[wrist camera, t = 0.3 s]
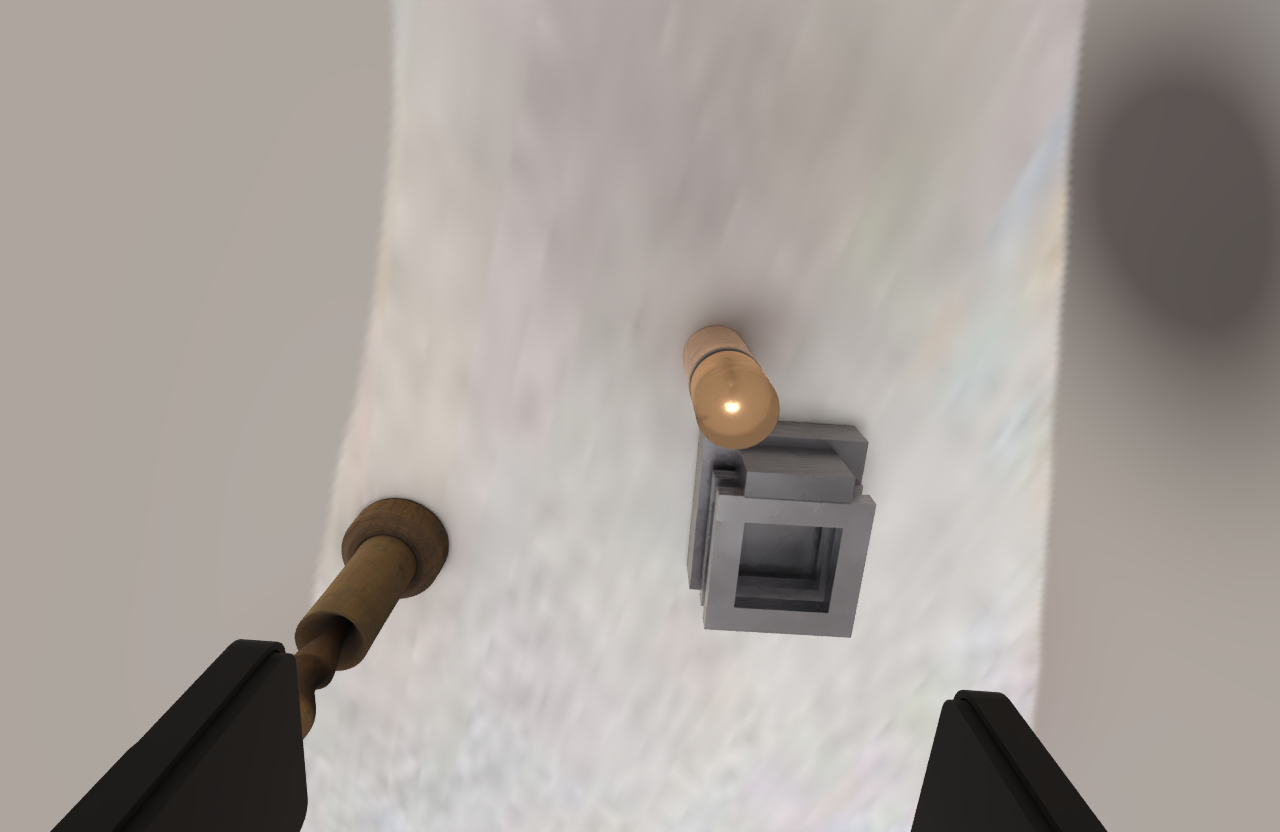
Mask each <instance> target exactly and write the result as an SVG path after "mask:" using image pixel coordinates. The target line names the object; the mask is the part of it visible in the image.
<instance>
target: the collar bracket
mask: <svg viewBox="0 0 1280 832" xmlns="http://www.w3.org/2000/svg"><path fill="white" fill-rule="evenodd" d="M867 448H868V441H867V440H866V439H865V438H864V437H863V435H862V434H861V433H860V432H859V431H858V430H857V429H856V428H855V427H854V426H845V425H829V424H813V423H797V422H780V421H777V423H776V425H775V427H774V429H773V430H772V432H771V433H770V434H769V435H768V436H767V437H766V438H765V439H764V440H763V441H761V442H760V443H758V444H756V445H754V446H751V447H749V448H745V449H727V448H723V447H720V446H718V445H716V444H714V443H712V442H711V441H710V440H709V439H707V438H706V437H705V435H704V434H703V433H702V431H701V430H700V435H699V445H698V455H697V466H696V476H695V486H694V497H693V507H692V518H691V528H690V538H689V549H688V559H687V570H688V579H689V588H690V589H698V590H700V600H701V606H704V610H703V622H704V629H710V630H728V631H745V632H762V633H780V634H797V635H814V636H832V637H849V638H851V634H852V629H853V624H854V619H855V613H856V608H857V603H858V598H859V592H860V587H861V582H862V577H863V571H864V566H865V561H866V555H867V550H868V545H869V540H870V534H871V529H872V524H873V519H874V513H875V508H876V503H875V502H874V501H873V499H872V498H871V497H870V495H862V490H863V486H862V485H861V481H862V475H863V470H864V464H865V459H866V453H867Z"/></svg>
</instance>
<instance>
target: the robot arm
mask: <svg viewBox="0 0 1280 832" xmlns="http://www.w3.org/2000/svg"><path fill="white" fill-rule="evenodd" d="M307 805H308V796H307V785H306V773H305V761H304V749H303V737H302V725H301V713H300V701H299V689H298V677H297V665H296V659H295V657H294V655H293V654H289V653H286V652H285V648H284V646H283V644H282V643H279V642H272V641H259V640H243V639H239V640H236V641H234V642H233V643H232V644H230V646H228V647H227V648H226V650H225V651H224V652H223V653H222V654H221V655H220V656H219V657H218V658H217V659H216V660H215V661H214V662H213V663H212V664H211V665H210V666H209V667H208V668H207V670H206V671H205V672H204V673H203V674H202V675H201V676H200V677H199V678H198V679H197V680H196V681H195V682H194V683H193V684H192V686H190V687H189V688H188V690H187V691H186V692H185V693H184V694H183V695H182V696H181V697H180V698H179V699H178V700H177V701H176V702H175V703H174V704H173V705H172V706H171V707H170V709H169V710H168V711H167V712H166V713H165V714H164V715H163V716H162V717H161V718H160V719H159V720H158V721H157V722H156V723H155V724H154V725H153V727H151V729H150V730H149V731H148V732H147V733H146V734H145V735H144V736H143V737H142V738H141V739H140V740H139V741H138V742H137V743H136V744H135V745H134V746H132V747H131V748H130V749H129V750H128V751H127V752H126V753H125V754H124V755H123V756H122V757H121V758H120V759H119V760H118V761H117V762H116V763H115V764H114V765H113V766H112V767H111V769H110V770H109V771H108V772H107V773H106V774H105V775H104V776H103V777H102V778H101V779H100V780H99V781H98V782H97V783H96V784H95V785H94V786H93V787H92V789H91V790H90V791H89V792H88V793H87V794H86V795H85V796H84V797H83V798H82V799H81V800H80V801H79V802H78V803H77V804H76V805H75V806H74V807H73V808H72V809H71V811H70V812H69V813H68V814H67V815H66V816H65V817H64V818H63V819H62V820H61V821H60V822H59V823H58V824H57V825H56V826H55V827H54V828H53V829H52V830H51V832H300V830H301V828H302V825H303V822H304V820H305V816H306V812H307ZM911 832H1107V830H1106V829H1105V828H1104V826H1103V825H1102V824H1101V822H1100V821H1099V820H1098V819H1097V817H1096V816H1095V814H1094V813H1093V812H1092V810H1091V809H1090V808H1089V806H1088V805H1087V804H1086V802H1085V801H1084V799H1083V798H1082V797H1081V795H1080V794H1079V793H1078V792H1077V790H1076V789H1075V788H1074V786H1073V785H1072V783H1071V782H1070V781H1069V779H1068V778H1067V777H1066V775H1065V774H1064V773H1063V771H1062V770H1061V769H1060V767H1059V766H1058V765H1057V763H1056V762H1055V761H1054V759H1053V758H1052V756H1051V755H1050V754H1049V752H1048V751H1047V750H1046V748H1045V747H1044V746H1043V744H1042V743H1041V742H1040V740H1039V739H1038V738H1037V736H1036V735H1035V733H1034V732H1033V731H1032V729H1031V728H1030V727H1029V725H1028V724H1027V723H1026V721H1025V720H1024V719H1023V717H1022V716H1021V715H1020V713H1019V712H1018V711H1017V709H1016V708H1015V707H1014V705H1013V704H1012V702H1011V701H1010V700H1009V699H1008V698H1007V697H1006V696H1005V695H1004V694H1002V693H999V692H986V691H971V690H961V691H958V692H957V693H956V695H955V697H954V699H953V700H946V701H945V702H944V704H943V707H942V710H941V714H940V718H939V722H938V726H937V730H936V734H935V738H934V742H933V746H932V750H931V754H930V758H929V761H928V765H927V769H926V773H925V777H924V781H923V785H922V789H921V793H920V797H919V801H918V805H917V809H916V813H915V817H914V821H913V825H912V829H911Z"/></svg>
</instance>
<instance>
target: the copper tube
mask: <svg viewBox="0 0 1280 832" xmlns="http://www.w3.org/2000/svg"><path fill="white" fill-rule="evenodd" d="M683 361H684V367H685V371H686V375H687V380H688V384H689V390H690V395H691V399H692V402H693V406H694V411H695V415H696V419H697V423H698V426H699V428H700V430H701V431H702V433H703V434H704V435H705V437H706V438H707V439H709V440H710V441H711V442H712V443H714V444H716V445H718V446H720V447H723V448H727V449H745V448H749V447H751V446H754V445H756V444H758V443H760V442H761V441H763V440H764V439H765V438H766V437H767V436H768V435H769V434H770V433H771V432H772V430H773V429H774V427H775V425H776V423H777V420H778V416H779V400H778V396H777V393H776V391H775V389H774V388H773V386H772V385H771V383H770V382H769V380H768V379H767V377H766V375H765V374H764V372H763V371H762V369H761V367H760V366H759V364H758V363H757V361H756V360H755V359H754V357H753V356H752V354H751V353H750V351H749V350H748V348H747V347H746V345H745V344H744V342H743V340H742V339H741V338H740V336H739V335H738V334H737V333H735V332H734V331H733V330H731V329H729V328H727V327H723V326H709V327H705V328H703V329H701V330H699V331H697V332H696V333H695V334H694V335H693V336H691V338H690V339H689V340H688V342H687V344H686V346H685V349H684V354H683Z"/></svg>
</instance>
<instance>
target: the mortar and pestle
mask: <svg viewBox="0 0 1280 832" xmlns="http://www.w3.org/2000/svg"><path fill="white" fill-rule="evenodd" d="M447 554H448V539H447V534H446V532H445V529H444V527H443V526H442V524H441V522H440V521H439V520H438V519H437V517H436V516H435V515H434V514H433V513H431V512H430V511H428V510H427V509H425V508H424V507H422V506H421V505H419V504H417V503H414V502H411V501H408V500H403V499H386V500H381V501H378V502H375V503H373V504H371V505H370V506H368V507H367V508H365V509H364V510H363V511H362V512H361V513H360V514H359V516H358V517H357V518H356V519H355V521H354V522H353V523H352V524H351V525H350V527H349V528H348V530H347V531H346V533H345V535H344V538H343V541H342V558H343V561H344V564H345V567H344V568H343V569H342V571H341V572H340V573H339V575H338V576H337V577H336V578H335V580H334V581H333V582H332V583H331V585H330V586H329V587H328V588H327V590H326V591H325V592H324V593H323V595H322V596H321V597H320V598H319V600H318V601H317V602H316V603H315V604H314V606H313V607H312V608H311V609H310V610H309V612H308V613H307V614H306V615H305V617H304V618H303V619H302V620H301V621H300V623H299V624H298V626H297V628H296V632H295V642H296V646H297V648H298V652H297V653H296V654H295V655H294V657H295V659H296V665H297V677H298V689H299V701H300V713H301V725H302V737H303V739H304V738H305V737H306V735H307V734H308V733H309V731H310V730H311V728H312V726H313V723H314V720H315V715H316V704H315V694H314V692H315V690H316V689H321V688H324V687H326V686H327V685H328V684H329V683H330V682H331V680H332V678H333V676H334V674H335V671H341V670H347V669H350V668H352V667H354V666H356V665H357V664H359V663H360V662H361V661H362V660H363V659H364V657H365V656H366V654H367V652H368V650H369V649H370V647H371V645H372V644H373V642H374V640H375V638H376V637H377V635H378V633H379V632H380V630H381V628H382V627H383V625H384V623H385V622H386V620H387V618H388V617H389V615H390V613H391V612H392V610H393V609H394V607H395V605H396V604H397V602H398V600H399V599H402V598H408V597H412V596H415V595H418V594H420V593H422V592H423V591H425V590H426V589H427V588H428V587H429V586H430V585H431V584H432V583H433V582H434V580H435V579H436V577H437V575H438V574H439V572H440V570H441V569H442V567H443V565H444V563H445V561H446V558H447Z"/></svg>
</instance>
